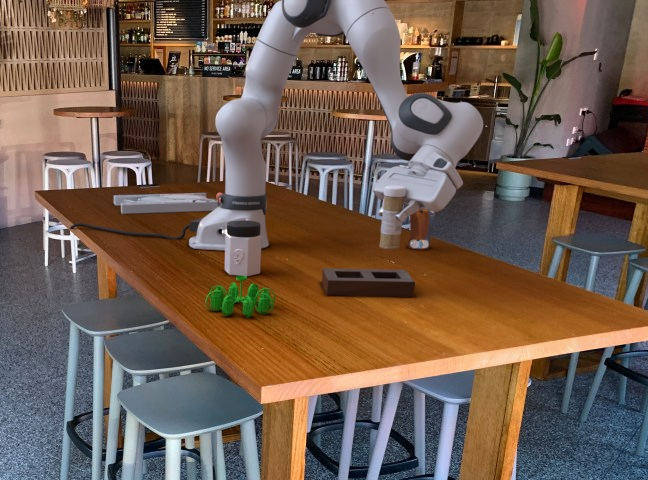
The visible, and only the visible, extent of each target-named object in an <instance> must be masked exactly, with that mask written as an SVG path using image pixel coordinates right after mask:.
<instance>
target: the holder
mask: <svg viewBox="0 0 648 480" xmlns="http://www.w3.org/2000/svg"><path fill="white" fill-rule="evenodd" d="M321 270H322V272H321V285H322V287H323V289H324V292H325V294H326V297H327V296H328V297H329V296H331V297H333V296H334V297H381V298H382V297H384V298H387V297H388V298H391V297H392V298H414V296H415V287H416V281H415V280H414V279H413V278H412V276H411V275H410V274H409V273H408V272H407V271H406V270H405V269H387V268H383V269H382V268H381V269H380V268H378V269H377V268H331V267H330V268H325V267H323V268H322V269H321Z"/></svg>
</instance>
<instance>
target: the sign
mask: <svg viewBox="0 0 648 480" xmlns="http://www.w3.org/2000/svg"><path fill="white" fill-rule="evenodd" d="M113 205H114V206H120V213H121V215H122V214H124V215H126V214H150V213H151V214H153V213H155V214H157V213H181V212H182V213H183V212H184V213H185V212H187V213H188V212H212V211H213V210H215V209H216V208H217V207H219V206H218V200H217V199H215V198H207V192H195V193H194V192H190V193H189V192H188V193H187V192H186V193H185V192H184V193H160V194H159V193H154V194H152V193H151V194H117V195H116V194H115V195H113Z"/></svg>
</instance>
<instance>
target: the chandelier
mask: <svg viewBox="0 0 648 480" xmlns="http://www.w3.org/2000/svg"><path fill="white" fill-rule="evenodd" d="M235 280H236V281H240V283H239V284H240V286H238V285H237V284H236V282H231V283H230V286H229V288H228V290H226V288H225V287H224V286H222V285H214V286H212V287H211V288H210V290H209V293H207V295H206V297H205V305H206V307H207V308H208V309H209V310H210V311H213V312H218V311H221V313H222V315H223V316H225V317H229V316H231V315H232V314H233V313H234V308H235V304H236V303H242V314H243V315H245V317H246V318H252V316H253V314H254V308H255V310H256V311H257V312H258V313H260V314H262V315H266V314H269V313H271V312H272V310H273V309H274V303H275V302H276V293H275V292H274V291H273V290H272V289H271V288H269V287H264V288H261V289H259V286H258V284H257V283H251V284H250V285H249V286H248V289H247V293H246V295H245V296H244V297H243V281H247V280H248V276H247V277H246V276H235ZM214 288H215V289H214ZM213 289H214V290H213ZM227 291H228V292H227ZM270 291H271V292H270ZM271 293H272V295H273V298H272V297H271ZM208 299H210V307H209V305H208ZM270 307H271V308H270Z"/></svg>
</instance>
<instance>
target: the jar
mask: <svg viewBox="0 0 648 480" xmlns="http://www.w3.org/2000/svg"><path fill="white" fill-rule="evenodd" d="M260 229H261V224H260V223H258V222H255V221H246V220H238V221H231V222H228V223H227V233H226V234H225V251H224V272H226V273H227V274H228V275H229V276H235V277H236V276H246V277H247V278H248V277H251V276H256V275H259V274H261V263H262V262H261V259H262V248H261V239H262V236H261V235H260Z"/></svg>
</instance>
